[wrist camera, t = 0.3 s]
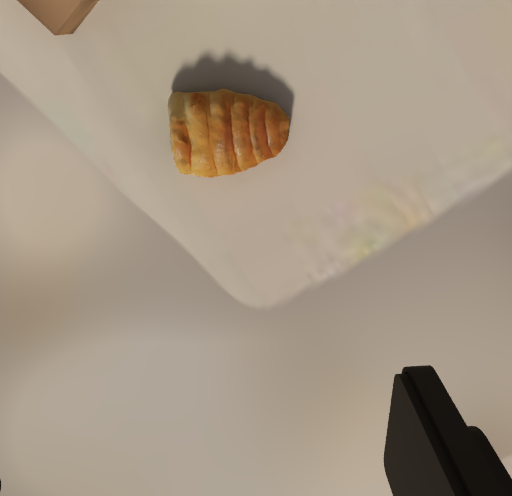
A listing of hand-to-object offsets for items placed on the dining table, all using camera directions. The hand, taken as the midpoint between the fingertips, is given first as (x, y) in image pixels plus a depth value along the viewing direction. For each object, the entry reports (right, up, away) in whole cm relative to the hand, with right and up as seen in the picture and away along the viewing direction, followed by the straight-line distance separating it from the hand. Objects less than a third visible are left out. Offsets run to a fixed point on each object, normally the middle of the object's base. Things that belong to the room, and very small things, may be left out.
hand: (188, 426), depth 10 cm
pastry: (-1, +14, +26) cm, 30 cm away
